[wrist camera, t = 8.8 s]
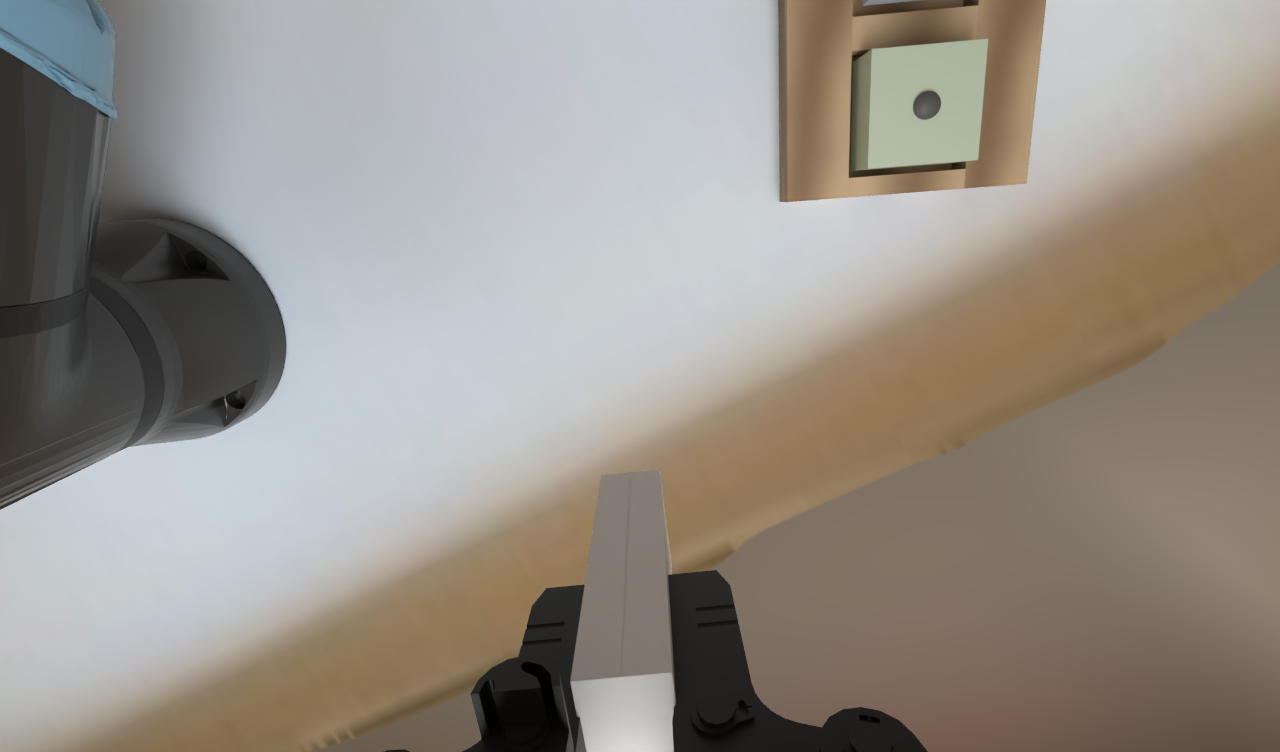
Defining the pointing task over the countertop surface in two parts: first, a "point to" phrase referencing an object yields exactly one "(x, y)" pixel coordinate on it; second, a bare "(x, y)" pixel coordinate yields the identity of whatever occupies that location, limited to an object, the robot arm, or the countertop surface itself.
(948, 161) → the tile one
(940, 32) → the tile board
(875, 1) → the tile two
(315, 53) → the countertop surface
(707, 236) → the countertop surface
